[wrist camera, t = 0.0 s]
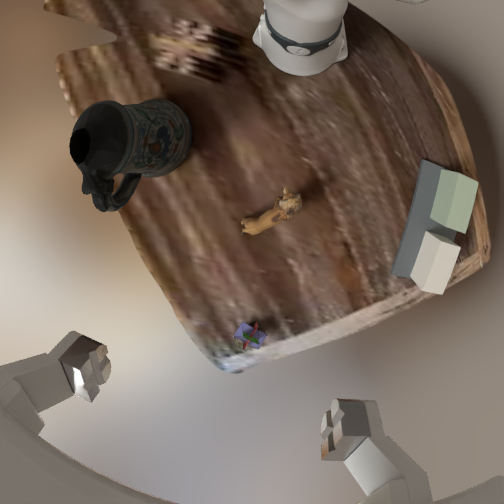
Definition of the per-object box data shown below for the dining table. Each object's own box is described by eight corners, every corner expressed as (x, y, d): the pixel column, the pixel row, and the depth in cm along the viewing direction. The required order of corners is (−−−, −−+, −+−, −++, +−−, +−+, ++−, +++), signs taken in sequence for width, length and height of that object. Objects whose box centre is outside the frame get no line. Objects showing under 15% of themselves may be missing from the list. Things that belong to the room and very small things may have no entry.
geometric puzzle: (248, 311, 61) (234, 342, 57) (275, 324, 61) (261, 355, 57) (240, 317, 67) (226, 345, 63) (264, 330, 67) (251, 358, 63)
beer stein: (180, 88, 47) (112, 56, 24) (211, 172, 53) (155, 190, 30) (117, 122, 51) (36, 120, 28) (144, 199, 57) (69, 233, 34)
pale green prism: (441, 169, 45) (458, 172, 39) (460, 177, 45) (478, 182, 38) (429, 217, 49) (445, 226, 43) (449, 224, 49) (465, 233, 42)
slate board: (421, 159, 46) (423, 159, 45) (467, 179, 46) (470, 179, 45) (390, 272, 56) (391, 274, 55) (436, 282, 55) (437, 284, 54)
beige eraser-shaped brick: (425, 230, 50) (440, 241, 44) (445, 236, 50) (460, 247, 44) (410, 276, 54) (422, 290, 48) (429, 280, 54) (442, 294, 48)
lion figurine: (289, 179, 52) (290, 184, 44) (306, 200, 53) (310, 209, 45) (233, 224, 57) (224, 238, 48) (250, 244, 58) (244, 260, 49)
